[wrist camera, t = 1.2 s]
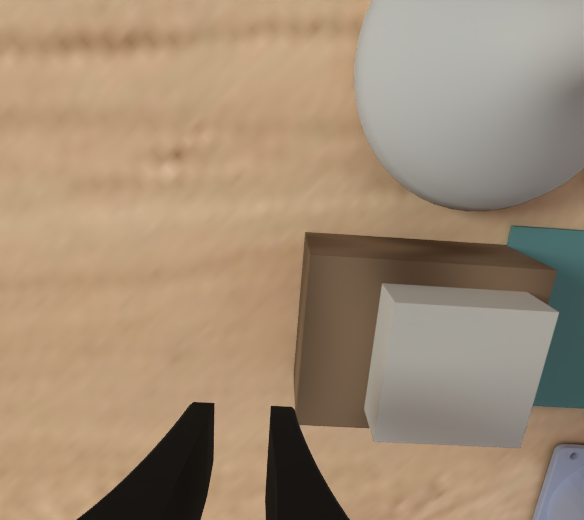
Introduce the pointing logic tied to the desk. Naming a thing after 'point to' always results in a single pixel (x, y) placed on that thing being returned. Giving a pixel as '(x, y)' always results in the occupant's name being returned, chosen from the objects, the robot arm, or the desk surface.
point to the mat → (560, 311)
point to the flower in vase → (474, 97)
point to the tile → (456, 365)
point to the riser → (365, 302)
